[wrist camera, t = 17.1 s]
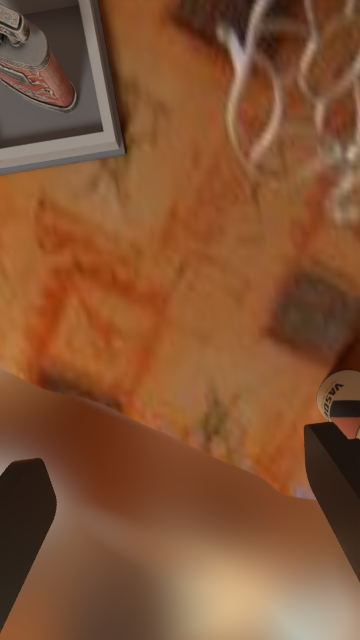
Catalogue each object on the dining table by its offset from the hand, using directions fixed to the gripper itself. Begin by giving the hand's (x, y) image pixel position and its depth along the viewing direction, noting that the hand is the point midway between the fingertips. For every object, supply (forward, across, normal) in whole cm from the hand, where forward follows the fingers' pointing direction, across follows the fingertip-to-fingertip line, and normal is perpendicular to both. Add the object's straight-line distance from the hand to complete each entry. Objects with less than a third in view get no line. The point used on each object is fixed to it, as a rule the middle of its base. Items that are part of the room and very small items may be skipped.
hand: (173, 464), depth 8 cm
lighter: (+27, +11, -24) cm, 38 cm away
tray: (+27, +11, -24) cm, 38 cm away
